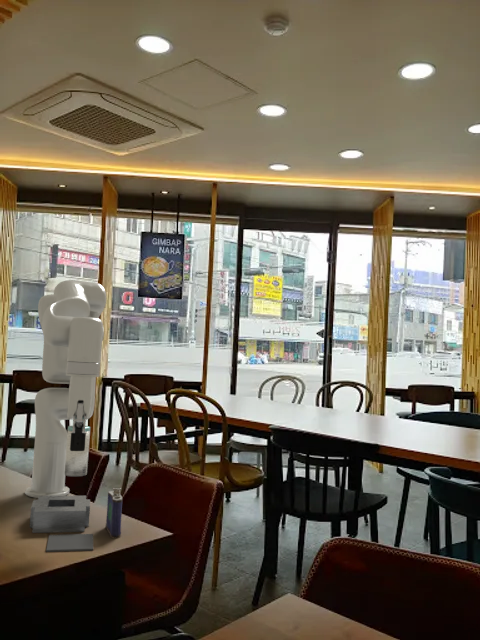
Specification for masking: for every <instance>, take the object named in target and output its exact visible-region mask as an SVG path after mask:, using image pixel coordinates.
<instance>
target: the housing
mask: <svg viewBox="0 0 480 640" xmlns="http://www.w3.org/2000/svg"><path fill="white" fill-rule="evenodd" d="M90 509H91V499H87V495H65V496H39V498H37V499H33V501H32V504H31V508H30V515H29V516H30V517H29V519H30V520H29V528H30V529H32V533H34V534H36V533H37V534H39V533H42V534H43V533H44V534H45V533H75V532H76V533H79V532H81V533H83V532H85V529H86V527H89V525H90V514H91V513H90V512H91V511H90Z"/></svg>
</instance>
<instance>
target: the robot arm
mask: <svg viewBox="0 0 480 640" xmlns="http://www.w3.org/2000/svg"><path fill="white" fill-rule="evenodd" d="M106 304H107V291H106V290H105V287H104V286H103V285H102V284H100V283H98V282H93V281H92V282H89V281H83V280H82V281H80V280H72V279H70V280H62V281H61V282H59V283H57V284H56V286H55V287H54V290H53V293H52V294H44V295H43V296H41V297H40V298H39V300H38V306H37V307H38V309H37V313H38V314H37V315H38V319H39V324H40V328H41V330H42V335H43V350H42V363H41V364H42V366H41V367H42V370H41V374H42V379H43V380H44V381H46V383H50V384H63V385H65V384H67V385H69V387H68V388H67V387H47V388H43V389H40V390H39V391H37V393H36V394H35V397H34V414H35V431H34V432H35V433H34V435H35V436H34V447H33V458H32V459H33V460H32V462H33V463H32V475H31V486H29V487H27V488H25V492H24V494H25V495H26V496H28V497H30V498H33V499H34V498H35V499H38V498H39V496H68V494H70V488H69V487H68V486H66V484H65V483H66V475H64V471H65V459H66V447H67V435H68V429H66V428H65V426H64V425H63V424H62V422H61V421H66V420H72V426H73V430H72V433H71V442H70V451H84V450H85V438H86V433H85V426H86V422H87V421H88V420H89V419H90V418H91V417H92V416H93V414H94V412H95V411H94V410H95V405H96V404H95V401H96V398H95V396H96V383H97V382H96V381H97V380H96V378H100V372H101V371H100V370H101V360H102V346H103V345H102V344H103V341H104V338H105V337H104V336H105V329H104V323H103V321H102V319H100V316H101V314H102V313H103V312H104V310H105V308H106ZM82 429H83V430H82Z"/></svg>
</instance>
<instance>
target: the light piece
mask: <svg viewBox="0 0 480 640" xmlns="http://www.w3.org/2000/svg"><path fill="white" fill-rule="evenodd" d="M72 430H73V425H68V426H67V433H68V435H67V447H66V459H65V471H64V475H65V476H67V477H83V476H86V475H87V474H88V466H89V465H88V464H89V463H88V462H89V452H90V439H91V438H90V436H91V426H88V425H85V433H86V438H85V450H84V451H70V442H71V433H72ZM82 430H83V429H82Z"/></svg>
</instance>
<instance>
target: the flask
mask: <svg viewBox="0 0 480 640" xmlns="http://www.w3.org/2000/svg"><path fill="white" fill-rule="evenodd" d="M120 490H122V488H121V487H120V488H118V487H116V488H114V487H113V488H112V490H109V491H108V492H107V505H106V506H107V507H106V509H107V510H106V520H105V521H106V523H105V529H106V530H107V533H109V537H110V538H112V539H118V538H120V537H121V536H122V526H121V525H122V514H123V513H122V512H123V511H122V510H123V509H122V508H123V496H122V495H121V492H120Z"/></svg>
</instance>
